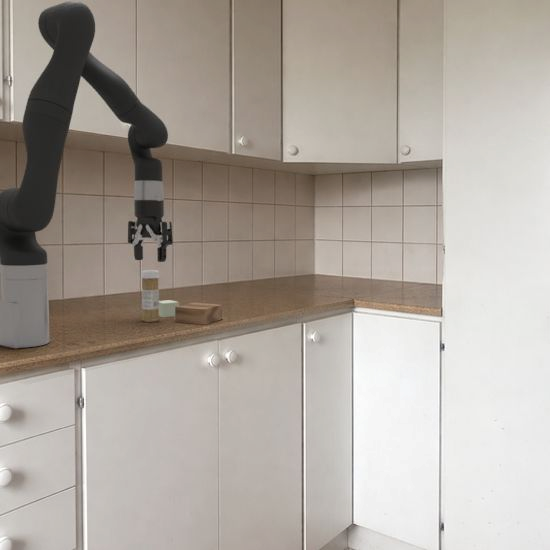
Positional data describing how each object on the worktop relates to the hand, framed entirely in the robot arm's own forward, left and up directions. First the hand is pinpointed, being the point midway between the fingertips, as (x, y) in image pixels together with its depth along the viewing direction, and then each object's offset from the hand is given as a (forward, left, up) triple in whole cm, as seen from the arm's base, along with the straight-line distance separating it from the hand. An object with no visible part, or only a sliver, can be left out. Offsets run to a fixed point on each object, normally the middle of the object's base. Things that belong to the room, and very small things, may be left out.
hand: (150, 260), depth 154 cm
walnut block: (+8, -10, -16) cm, 20 cm away
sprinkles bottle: (0, 0, -16) cm, 16 cm away
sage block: (+9, +3, -16) cm, 19 cm away
